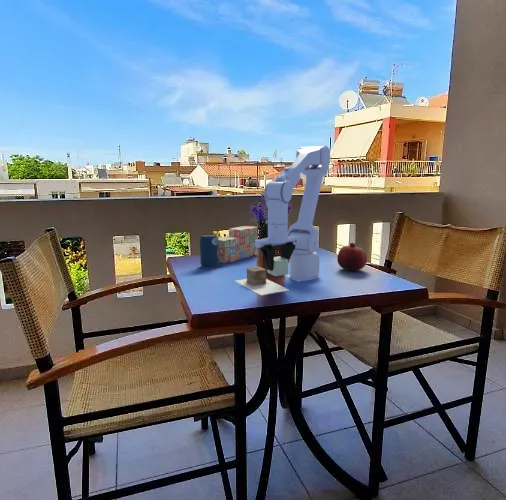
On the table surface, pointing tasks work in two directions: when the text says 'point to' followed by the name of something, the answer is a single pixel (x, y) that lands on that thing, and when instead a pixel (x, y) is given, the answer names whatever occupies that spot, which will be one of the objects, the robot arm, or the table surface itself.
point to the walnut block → (256, 275)
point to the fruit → (352, 257)
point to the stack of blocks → (237, 244)
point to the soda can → (209, 251)
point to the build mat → (263, 287)
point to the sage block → (279, 266)
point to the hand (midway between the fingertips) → (277, 268)
